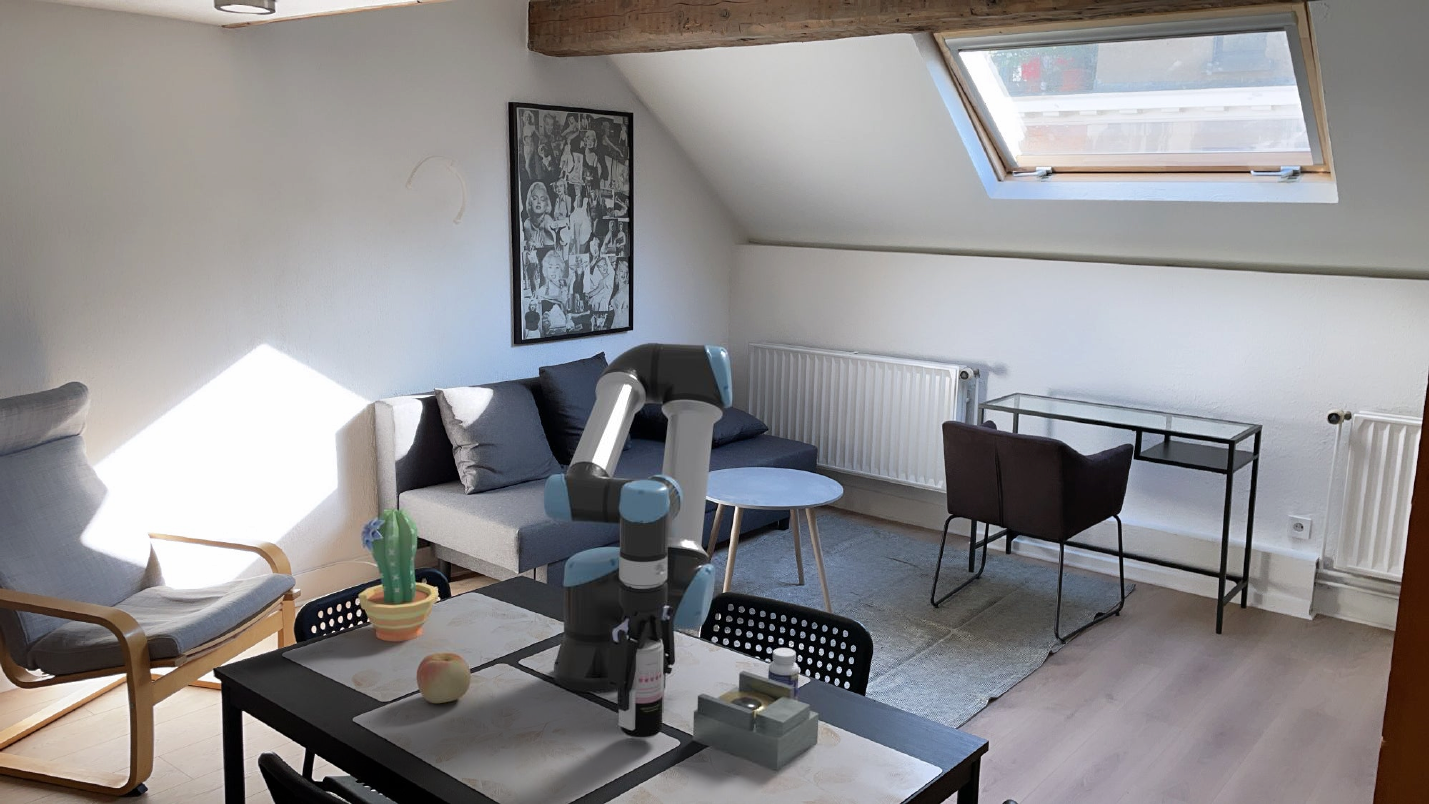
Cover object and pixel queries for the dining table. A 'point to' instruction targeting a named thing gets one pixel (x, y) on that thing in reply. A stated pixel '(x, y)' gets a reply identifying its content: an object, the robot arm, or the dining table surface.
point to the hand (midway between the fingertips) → (641, 718)
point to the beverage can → (648, 690)
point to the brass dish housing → (757, 722)
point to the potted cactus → (395, 579)
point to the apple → (443, 677)
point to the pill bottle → (785, 668)
